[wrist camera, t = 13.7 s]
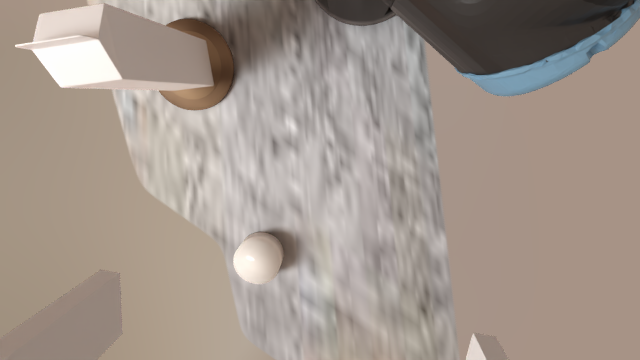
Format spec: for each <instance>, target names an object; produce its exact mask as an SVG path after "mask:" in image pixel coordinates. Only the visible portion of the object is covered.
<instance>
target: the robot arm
mask: <svg viewBox="0 0 640 360" xmlns="http://www.w3.org/2000/svg"><path fill="white" fill-rule="evenodd" d="M316 2H317V3H318V5H319V6H320V7H321V8H322V9H323V10H324V11H325V12H326V13H327V14H329V15H330V16H331V17H333V18H335V19H336V20H338V21H341V22H343V23H346V24H350V25H357V26H366V25H373V24H377V23H380V22H383V21H385V20H387V19H389V18H391V17H392V16H394V15H395V14H397V15H398V16H399V17H400V18H401V19H402V20H403V21H404V22H405V23H407V24H408V25H409V26H410V27H411V28H412V29H413V30H414V31H415V32H416V33H418V34H419V35H420V36H421V37H422V38H423V39H424V40H425V41H426V42H428V43H429V44H430V45H431V46H432V47H433V48H434V49H435V50H436V51H438V52H439V53H440V54H441V55H442V56H443V57H444V58H445V59H446V60H447V61H449V62H450V63H451V64H452V65H453V66H454V67H455V69H456V71H457V72H458V73H460V74H462V76H464V77H467V78H470V79H471V80H472V81H473V82H475V83H476V84H477V85H479V86H480V87H481V88H482V89H484V90H485V91H486V92H488V93H491V94H493V95H497V96H515V95H521V94H525V93H529V92H532V91H535V90H538V89H540V88H543V87H545V86H548V85H550V84H552V83H554V82H556V81H559V80H561V79H562V78H564V77H566V76H568V75H570V74H572V73H573V72H575V71H577V70H578V69H580V68H582V67H583V66H585V65H586V64H588V63H589V62H590V58H591V57H592V56H593V55H594V54H596V53H599V52H601V51H604V50H607V49H609V48H610V47H611V46H612V45H613V44H615V43H616V42H617V41H618V40H619V39H620V38H622V37H623V36H624V35H625V34H626V33H627V32H628V31H629V30H630V29H631V28H632V27H633V25H634V24H635V23H636V22H637V21H638V19H639V18H640V0H316ZM121 316H122V315H121V291H120V273H117V272H111V271H105V270H100V271H98V272H97V273H95V274H94V275H92V276H91V277H89V278H88V279H86V280H85V281H83V282H82V283H81V284H79V285H78V286H76V287H75V288H73V289H72V290H70V291H69V292H67V293H66V294H64V295H63V296H61V297H60V298H58V299H57V300H56V301H54V302H53V303H51V304H50V305H48V306H47V307H45V308H44V309H42V310H41V311H39V312H38V313H36V314H35V315H34V316H32V317H31V318H29V319H28V320H26V321H25V322H24V323H22V324H20V325H19V326H17V327H16V328H14V329H13V330H12V331H10V332H9V333H7V334H6V335H4V336H3V337H1V338H0V360H97V359H98V358H99V357H100V356H101V355H102V354H103V353H104V352H105V351H106V350H107V349H108V348H109V347H110V346H111V345H112V344H113V343H114V342H115V341H116V340H117V339H118V338H119V337H120V336H121V335H122V317H121ZM466 360H509V359H508V357H507V355H506V354H505V352H504V350H503V348H502V347H501V345H500V343H499V342H498V340H497V338H496V337H495V336H489V335H483V334H477V333H473V336H472V339H471V342H470V346H469V350H468V353H467V357H466Z"/></svg>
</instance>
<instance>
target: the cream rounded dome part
mask: <svg viewBox="0 0 640 360" xmlns="http://www.w3.org/2000/svg"><path fill="white" fill-rule="evenodd" d="M283 258H284V250H283V247H282V245H281V243H280V241H279V240H278V239H277V238H276V237H274V236H273V235H271V234H268V233H265V232H256V233H253V234H251V235H249V236H248V237H246V238H245V240H244V241H243V242H242V244H241V245H240V247H239V248H238V249H237V251H236V252H235V255H234V260H233V261H234V267H235V269H236V271H237V273H238V274H239V276H241V277H242V278H243V279H244V280H246V281H248V282H250V283H254V284H264V283H267V282H269V281H271V280H272V279H274V278H275V276H276V275H277V273H278V271H279V268H280V266H281V264H282V261H283Z"/></svg>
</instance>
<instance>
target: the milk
mask: <svg viewBox="0 0 640 360" xmlns="http://www.w3.org/2000/svg"><path fill="white" fill-rule="evenodd" d="M15 46H16V47H18V48H25V49H31V50H32V51H33V52H34V53H35V54H36V56H37V57H38V59H39V60H40V61H41V62H42V64H43V65H44V66H45V67H46V69H47V70H48V71H49V73H50V74H51V75H52V77H53V78H54V79H55V81H56V82H57V83H58V85H59V86H60V87H62V88H94V89H130V90H166V91H177V90H185V89H192V88H200V87H208V86H214V82H213V76H212V71H211V65H210V60H209V54H208V49H207V43H206V41H205V40H203V39H200V38H198V37H195V36H192V35H189V34H187V33H184V32H181V31H179V30H176V29H173V28H170V27H168V26H165V25H162V24H160V23H157V22H154V21H151V20H149V19H146V18H143V17H141V16H138V15H135V14H132V13H130V12H127V11H124V10H122V9H119V8H116V7H113V6H111V5H108V4H105V3H101V4H96V5H90V6H84V7H78V8H72V9H66V10H60V11H54V12H48V13H42V14H40V15H39V18H38V23H37V27H36V31H35V35H34V39H33V42H31V43H25V44H18V45H15Z"/></svg>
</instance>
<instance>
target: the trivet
mask: <svg viewBox="0 0 640 360" xmlns="http://www.w3.org/2000/svg"><path fill="white" fill-rule="evenodd" d="M166 26H168V27H170V28H173V29H176V30H179V31H181V32H184V33H187V34H189V35H192V36H195V37H198V38H200V39H203V40H205V41H206V43H207V49H208V54H209V60H210V65H211V71H212V76H213V82H214V86H208V87H200V88H192V89H185V90H177V91H166V90H159V92H160V93H161V94H162V95H163V96H164V97H165V98H166V99H167V100H168V101H169V102H171V103H172V104H174V105H176V106H178V107H180V108H183V109H187V110H203V109H207V108H210V107H212V106H214V105H216V104H217V103H219V102H220V101H221V100H222V99H223V98H224V97H225V96H226V94H227V93H228V91H229V89H230V87H231V84H232V81H233V76H234V62H233V57H232V53H231V51H230V48H229V46H228V44H227V43H226V41H225V40H224V38H223V37H222V36H221V35H220V34H219V33H218V32H217V31H216V30H215V29H214V28H212V27H211V26H209V25H207V24H205V23H203V22H200V21H197V20H193V19H180V20H176V21H173V22H171V23H169V24H167V25H166Z"/></svg>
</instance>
